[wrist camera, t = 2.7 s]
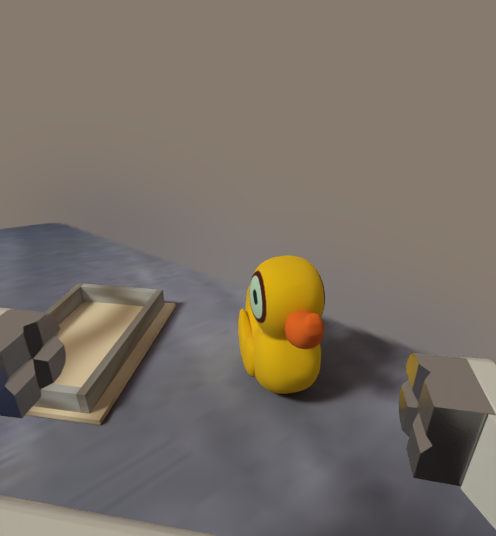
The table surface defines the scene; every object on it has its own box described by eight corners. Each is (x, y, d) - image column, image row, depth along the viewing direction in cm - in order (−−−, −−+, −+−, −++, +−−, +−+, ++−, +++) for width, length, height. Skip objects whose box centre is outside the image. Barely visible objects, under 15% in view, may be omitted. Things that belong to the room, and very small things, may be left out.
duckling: (348, 435, 24) (369, 295, 20) (263, 451, 23) (265, 307, 19) (291, 330, 34) (297, 221, 30) (230, 338, 33) (227, 227, 29)
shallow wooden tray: (175, 306, 38) (173, 288, 37) (100, 425, 25) (94, 401, 24) (76, 298, 39) (72, 280, 38) (-43, 405, 26) (-53, 382, 25)
